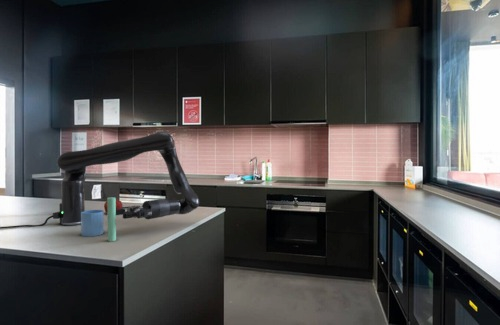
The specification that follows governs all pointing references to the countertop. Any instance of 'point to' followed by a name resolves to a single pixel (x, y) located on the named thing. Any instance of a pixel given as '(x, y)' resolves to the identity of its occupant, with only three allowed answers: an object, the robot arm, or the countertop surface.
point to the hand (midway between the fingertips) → (117, 214)
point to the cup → (92, 223)
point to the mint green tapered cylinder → (111, 218)
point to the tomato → (118, 205)
